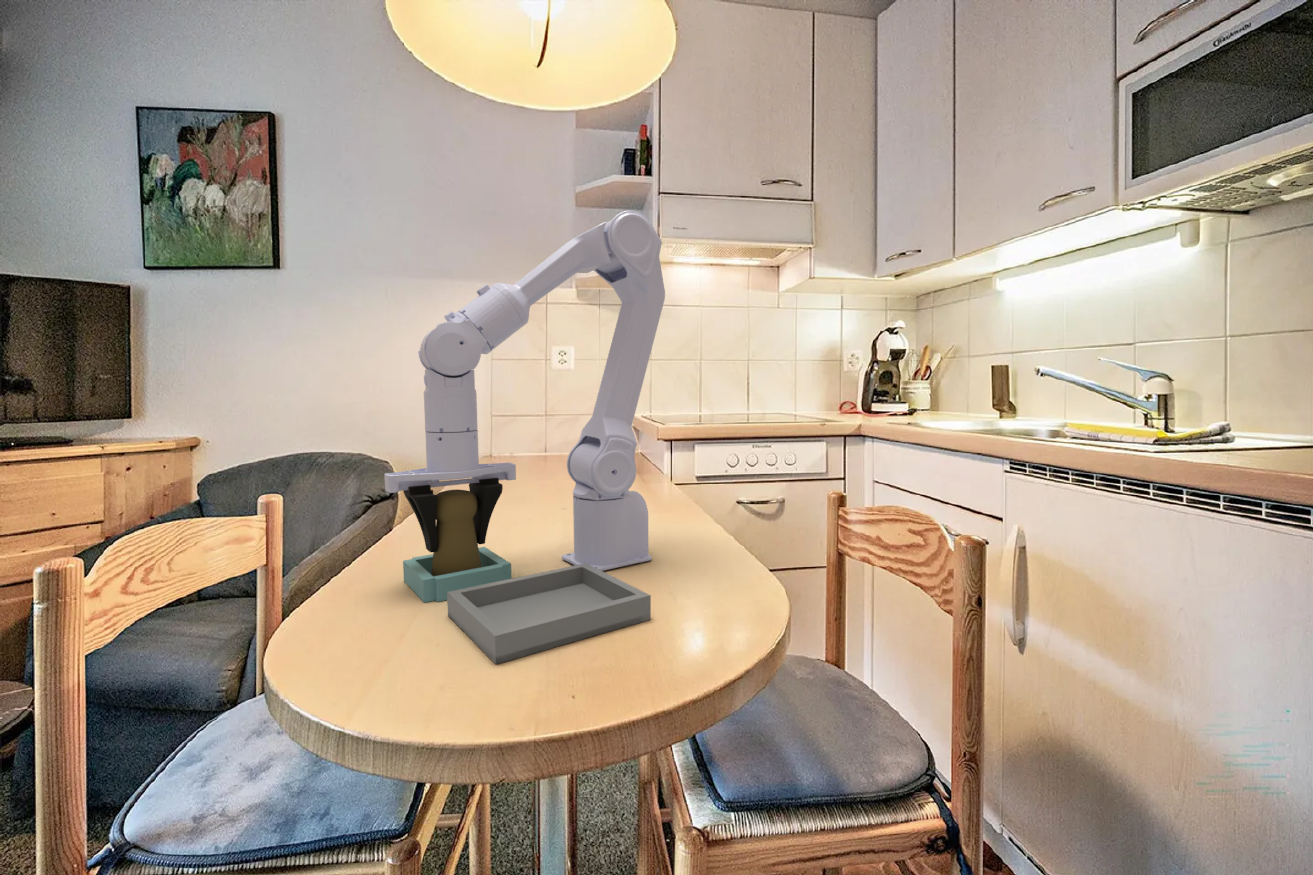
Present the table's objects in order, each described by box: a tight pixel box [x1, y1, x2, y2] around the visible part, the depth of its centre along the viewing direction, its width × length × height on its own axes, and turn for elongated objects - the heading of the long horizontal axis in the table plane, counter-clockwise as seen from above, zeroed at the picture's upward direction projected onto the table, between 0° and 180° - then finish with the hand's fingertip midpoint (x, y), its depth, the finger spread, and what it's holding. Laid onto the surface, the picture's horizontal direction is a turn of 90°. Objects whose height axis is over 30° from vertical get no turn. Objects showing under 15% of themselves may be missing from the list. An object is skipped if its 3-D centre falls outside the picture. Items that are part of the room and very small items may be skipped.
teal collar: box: [402, 546, 512, 604], centre depth 71 cm, size 10×10×2 cm
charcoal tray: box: [446, 563, 652, 665], centre depth 60 cm, size 16×13×2 cm
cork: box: [431, 489, 482, 577], centre depth 70 cm, size 6×6×11 cm
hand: (456, 546), depth 71 cm, fingers closed on cork, 5 cm apart
